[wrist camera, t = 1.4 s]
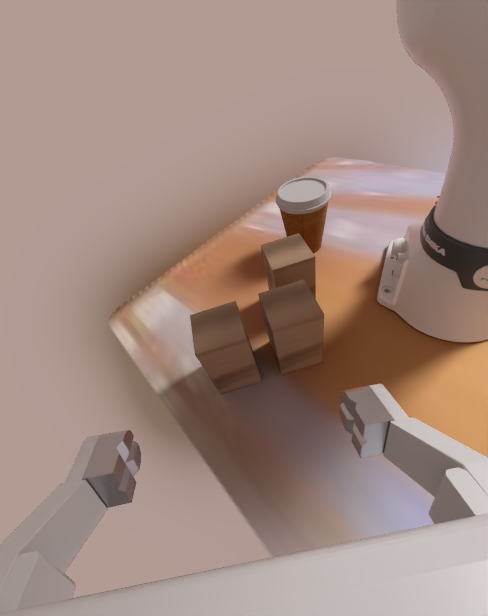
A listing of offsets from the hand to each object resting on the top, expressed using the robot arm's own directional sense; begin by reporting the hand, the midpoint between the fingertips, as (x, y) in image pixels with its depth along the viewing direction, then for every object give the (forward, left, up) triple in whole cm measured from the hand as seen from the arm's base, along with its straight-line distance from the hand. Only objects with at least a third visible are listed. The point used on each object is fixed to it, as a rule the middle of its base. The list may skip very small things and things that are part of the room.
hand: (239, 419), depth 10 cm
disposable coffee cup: (-43, -3, -25) cm, 50 cm away
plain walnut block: (-14, -10, -25) cm, 30 cm away
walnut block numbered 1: (-18, -2, -25) cm, 31 cm away
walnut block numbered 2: (-28, -3, -25) cm, 37 cm away
